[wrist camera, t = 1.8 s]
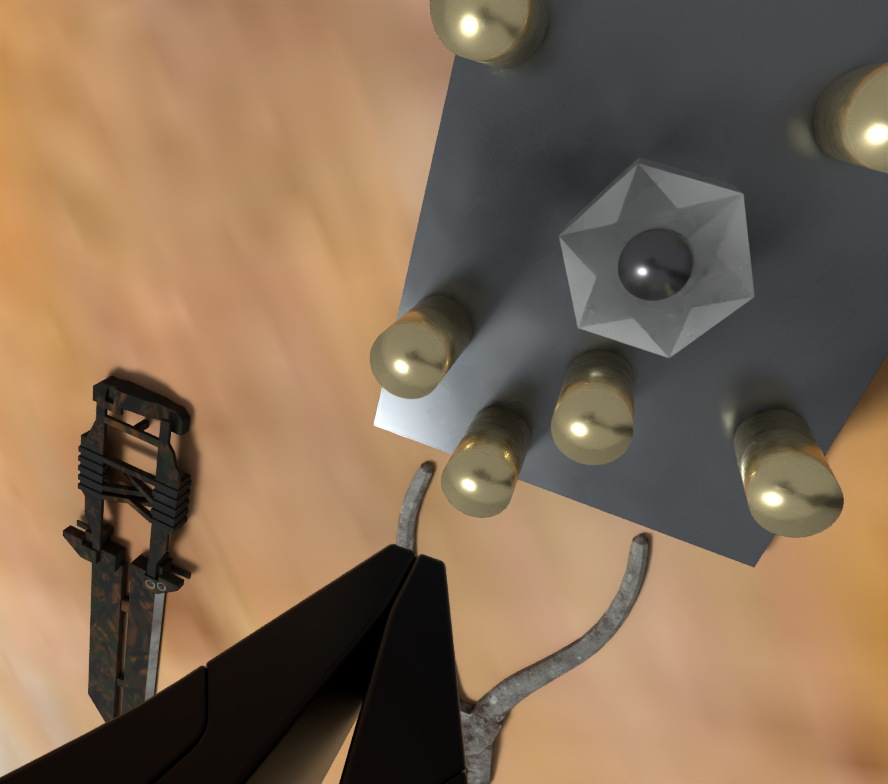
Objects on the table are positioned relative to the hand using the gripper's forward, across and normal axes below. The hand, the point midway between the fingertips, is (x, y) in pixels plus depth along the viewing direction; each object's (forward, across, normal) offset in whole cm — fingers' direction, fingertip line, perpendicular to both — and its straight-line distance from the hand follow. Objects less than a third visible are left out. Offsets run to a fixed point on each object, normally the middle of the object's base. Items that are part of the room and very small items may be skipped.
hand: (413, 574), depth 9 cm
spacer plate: (+13, -3, -3) cm, 14 cm away
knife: (+14, +15, +21) cm, 29 cm away
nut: (+12, -3, -3) cm, 13 cm away
